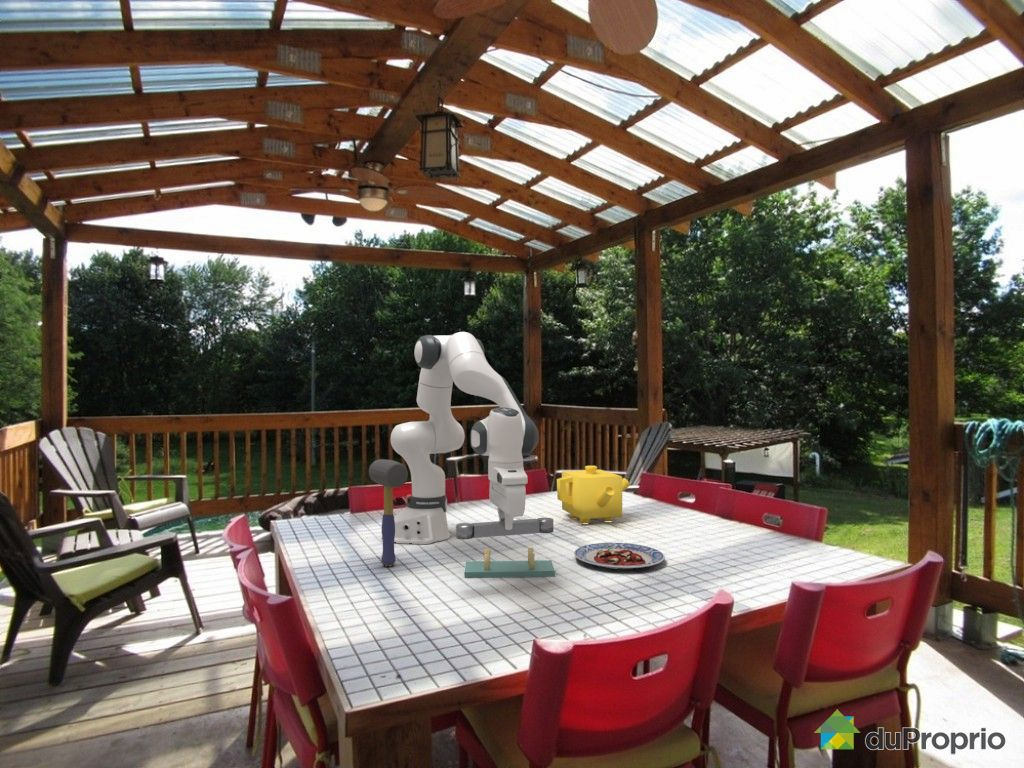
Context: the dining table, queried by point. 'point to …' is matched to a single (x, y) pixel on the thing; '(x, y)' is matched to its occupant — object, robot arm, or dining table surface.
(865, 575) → the dining table surface
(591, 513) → the yellow teapot
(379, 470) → the rubber mallet
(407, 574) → the dining table surface
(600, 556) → the ceramic plate
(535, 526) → the grey dumbbell
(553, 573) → the peg rack
